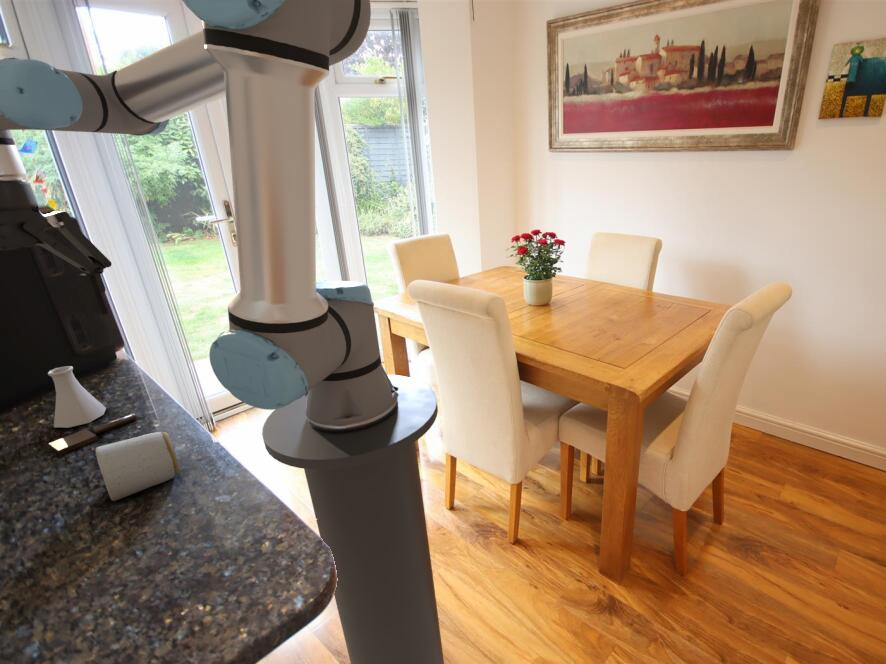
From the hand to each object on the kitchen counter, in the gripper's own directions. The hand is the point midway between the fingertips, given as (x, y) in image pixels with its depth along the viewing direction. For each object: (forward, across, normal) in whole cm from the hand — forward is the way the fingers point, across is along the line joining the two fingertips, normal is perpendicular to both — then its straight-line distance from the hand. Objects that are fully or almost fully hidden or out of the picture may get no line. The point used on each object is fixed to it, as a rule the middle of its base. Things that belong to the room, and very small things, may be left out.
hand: (50, 327), depth 70 cm
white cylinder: (+20, +5, +20) cm, 29 cm away
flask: (+21, -4, -11) cm, 24 cm away
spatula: (+20, -2, -2) cm, 21 cm away
